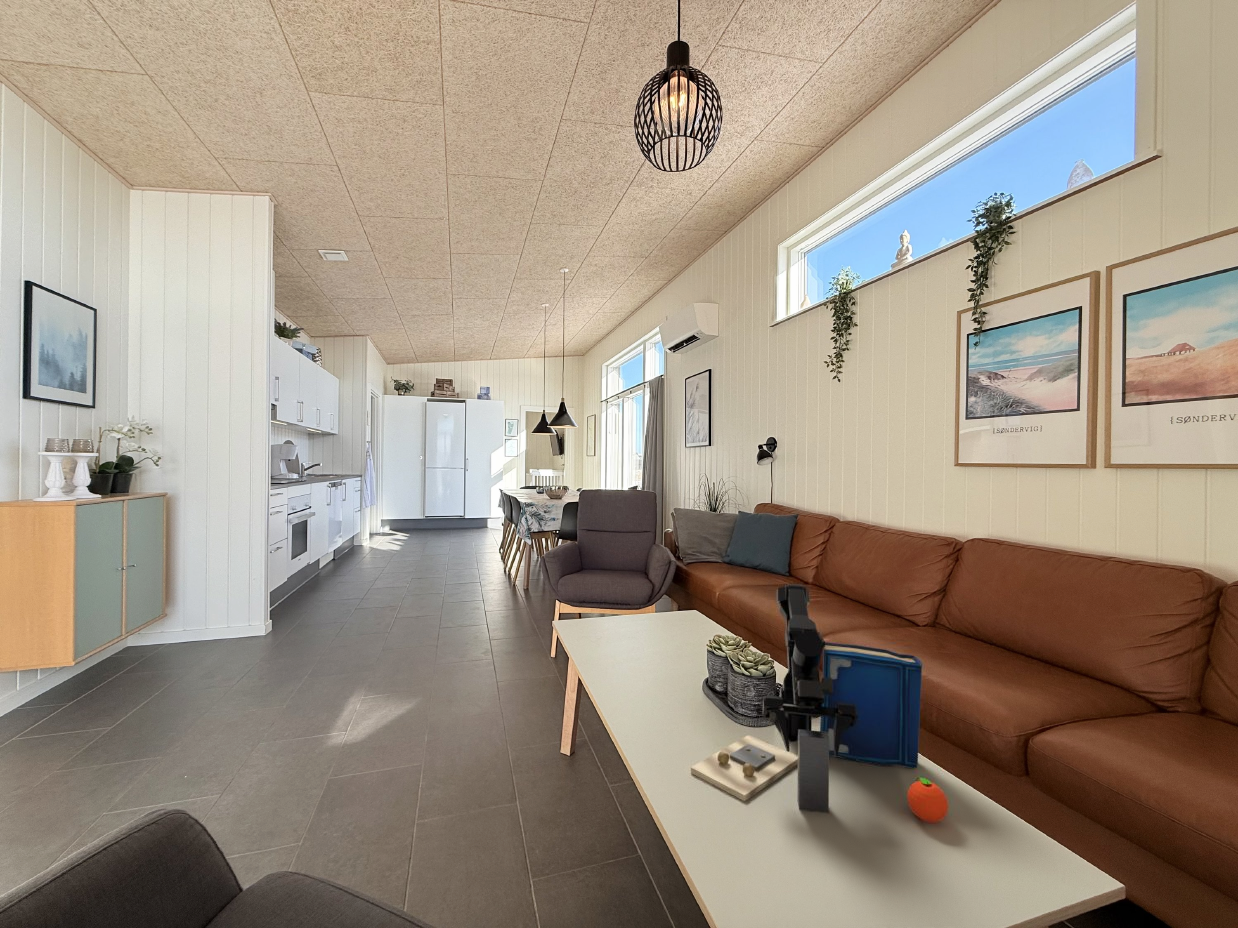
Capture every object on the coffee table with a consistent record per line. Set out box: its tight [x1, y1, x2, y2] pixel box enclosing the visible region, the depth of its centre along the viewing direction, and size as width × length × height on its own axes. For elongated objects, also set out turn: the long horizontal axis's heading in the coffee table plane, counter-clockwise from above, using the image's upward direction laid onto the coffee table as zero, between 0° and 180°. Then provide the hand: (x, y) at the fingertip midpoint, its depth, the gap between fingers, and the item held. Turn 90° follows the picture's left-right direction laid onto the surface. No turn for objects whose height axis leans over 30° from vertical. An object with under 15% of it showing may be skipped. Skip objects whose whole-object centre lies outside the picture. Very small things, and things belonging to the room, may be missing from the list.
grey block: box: [797, 729, 830, 815], centre depth 112 cm, size 6×6×14 cm
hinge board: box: [690, 734, 798, 802], centre depth 125 cm, size 22×14×3 cm, turn 133°
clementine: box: [906, 777, 949, 823], centre depth 108 cm, size 8×7×7 cm
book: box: [819, 642, 923, 769], centre depth 130 cm, size 22×7×25 cm, turn 71°
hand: (812, 753), depth 112 cm, fingers open, 9 cm apart
